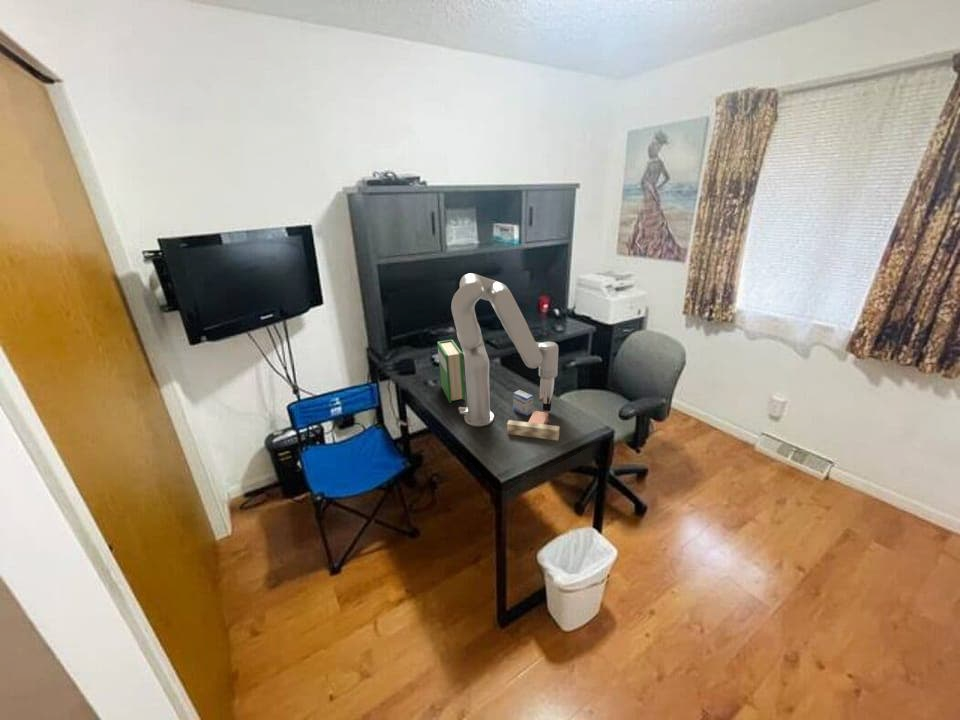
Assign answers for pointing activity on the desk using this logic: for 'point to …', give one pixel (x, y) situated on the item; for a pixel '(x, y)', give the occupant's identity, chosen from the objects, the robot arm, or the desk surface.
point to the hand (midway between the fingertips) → (546, 409)
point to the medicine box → (523, 402)
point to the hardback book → (451, 370)
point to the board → (533, 430)
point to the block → (539, 417)
